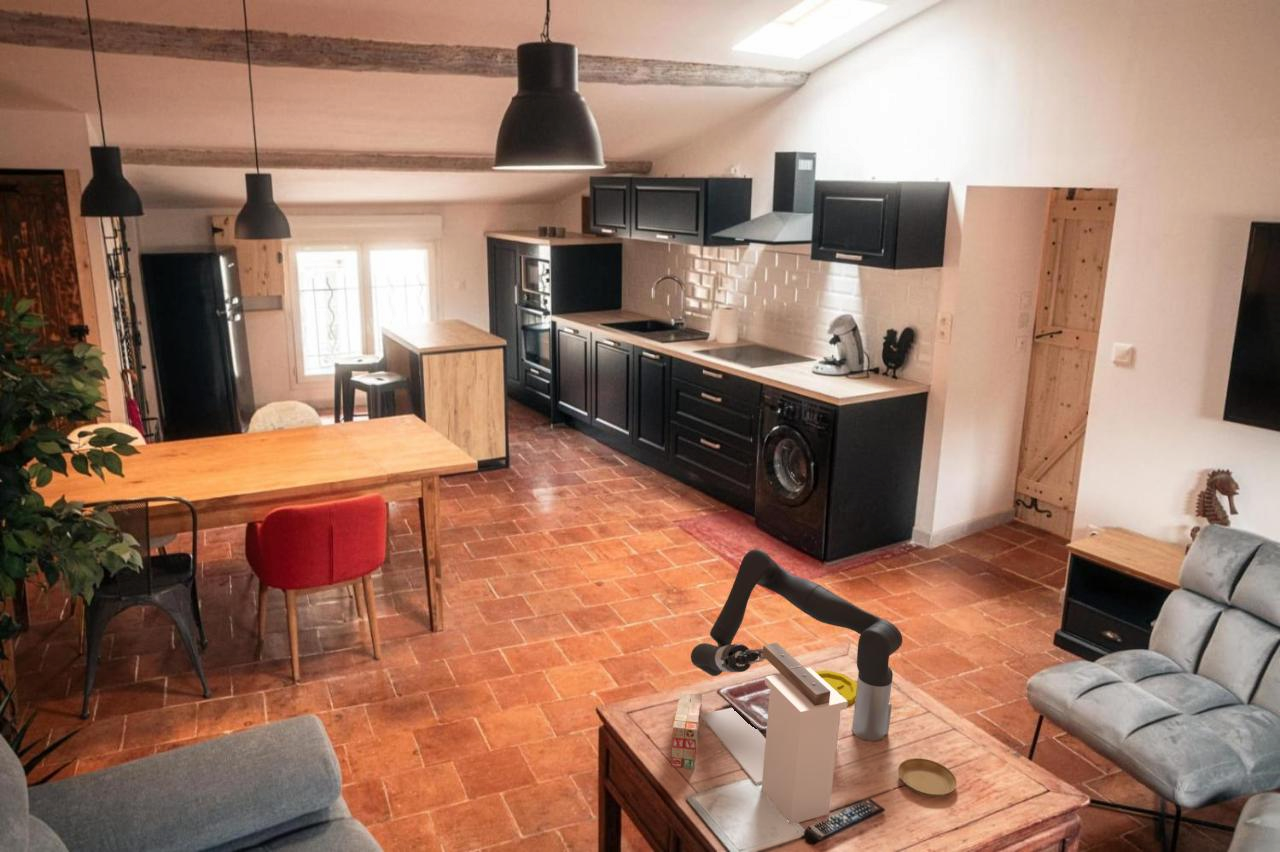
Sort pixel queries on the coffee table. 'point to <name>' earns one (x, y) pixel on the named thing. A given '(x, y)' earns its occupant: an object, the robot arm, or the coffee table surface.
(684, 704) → the stack of blocks
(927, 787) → the plant saucer
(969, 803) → the coffee table surface
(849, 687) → the decorative disc
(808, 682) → the studded wooden bar
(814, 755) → the tall stand
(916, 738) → the coffee table surface
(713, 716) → the white mat
